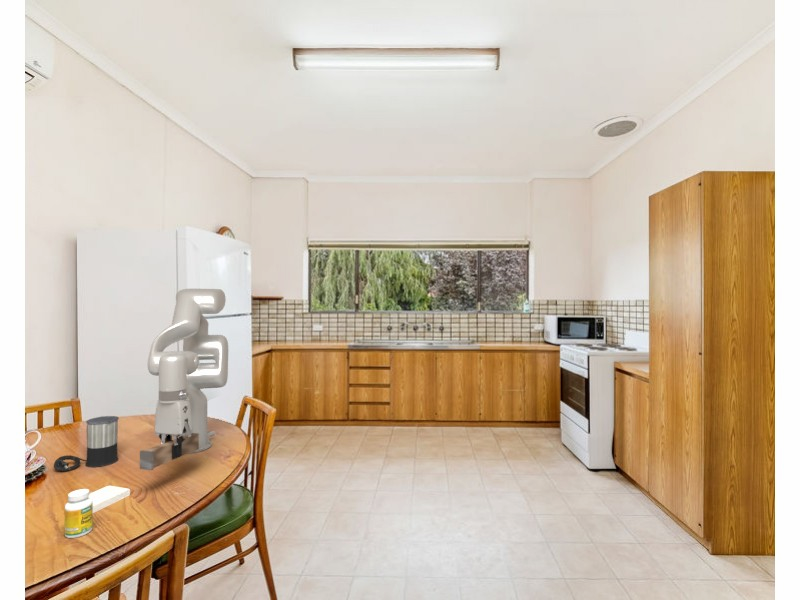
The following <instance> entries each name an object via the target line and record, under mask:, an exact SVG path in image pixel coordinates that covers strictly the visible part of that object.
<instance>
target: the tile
mask: <svg viewBox="0 0 800 600" xmlns="http://www.w3.org/2000/svg"><path fill="white" fill-rule="evenodd" d="M129 496H131V489H130V488H127V487H121V486H116V485H115V486H114V485H110V484H109V485H107V486H104V487H102V488H100V489H97V490H95V491H92V492H89V498H91V499H92V501H93V514H94V513H96V512H98V511H100V510H102V509H105V508H107V507H108V506H111V505H113V504H115V503H118V502H119V501H122V499H125V498H127V497H129ZM66 504H67V503H65V505H66Z"/></svg>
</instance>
